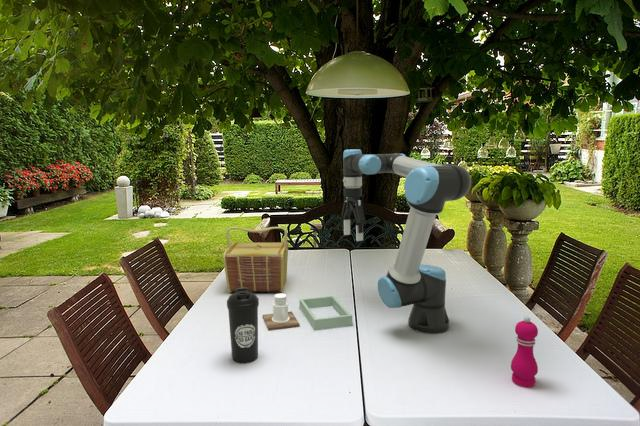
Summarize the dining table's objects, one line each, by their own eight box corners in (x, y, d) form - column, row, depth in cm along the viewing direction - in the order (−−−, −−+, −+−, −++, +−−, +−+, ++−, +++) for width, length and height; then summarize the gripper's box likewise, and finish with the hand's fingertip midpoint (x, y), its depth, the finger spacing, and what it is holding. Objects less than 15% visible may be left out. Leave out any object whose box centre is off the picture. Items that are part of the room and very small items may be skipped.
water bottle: (230, 366, 147) (227, 297, 144) (228, 352, 157) (225, 287, 153) (262, 362, 150) (260, 293, 146) (258, 348, 160) (255, 284, 156)
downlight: (269, 317, 185) (268, 293, 183) (285, 314, 187) (285, 290, 185) (275, 325, 177) (275, 300, 175) (292, 322, 180) (292, 297, 178)
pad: (299, 326, 178) (299, 324, 177) (268, 330, 174) (268, 328, 174) (291, 313, 191) (291, 311, 191) (262, 317, 188) (262, 314, 188)
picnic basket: (222, 296, 213) (219, 232, 208) (234, 279, 238) (231, 222, 233) (286, 296, 212) (284, 232, 207) (291, 279, 237) (289, 221, 232)
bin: (352, 325, 178) (352, 315, 177) (314, 330, 174) (314, 320, 173) (333, 304, 201) (333, 295, 200) (299, 308, 197) (299, 299, 196)
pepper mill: (529, 375, 139) (533, 311, 136) (541, 388, 132) (546, 321, 129) (505, 375, 139) (509, 312, 136) (516, 388, 132) (520, 321, 129)
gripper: (333, 185, 202) (334, 233, 206) (356, 190, 179) (356, 244, 182) (349, 184, 205) (350, 231, 208) (373, 189, 181) (374, 242, 184)
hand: (353, 237), depth 195 cm, fingers open, 13 cm apart
